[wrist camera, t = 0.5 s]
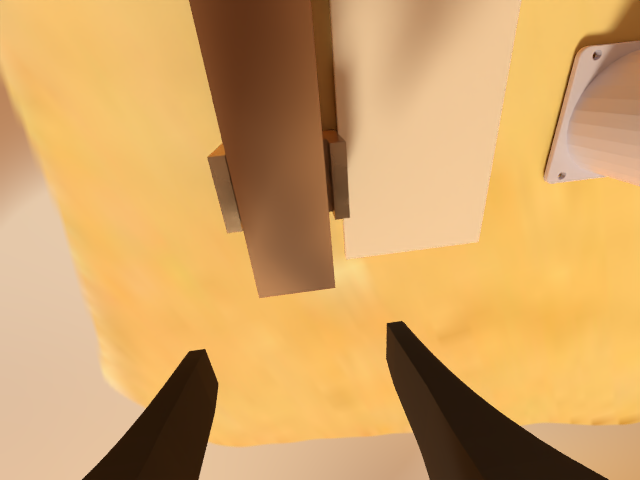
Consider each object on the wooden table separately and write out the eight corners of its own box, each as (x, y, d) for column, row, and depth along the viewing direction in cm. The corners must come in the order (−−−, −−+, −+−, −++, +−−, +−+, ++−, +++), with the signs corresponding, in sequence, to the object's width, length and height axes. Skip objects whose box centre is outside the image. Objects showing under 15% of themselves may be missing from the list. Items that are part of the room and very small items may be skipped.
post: (333, 129, 18) (346, 141, 14) (338, 192, 20) (349, 217, 16) (223, 141, 18) (207, 157, 14) (238, 204, 20) (227, 233, 16)
